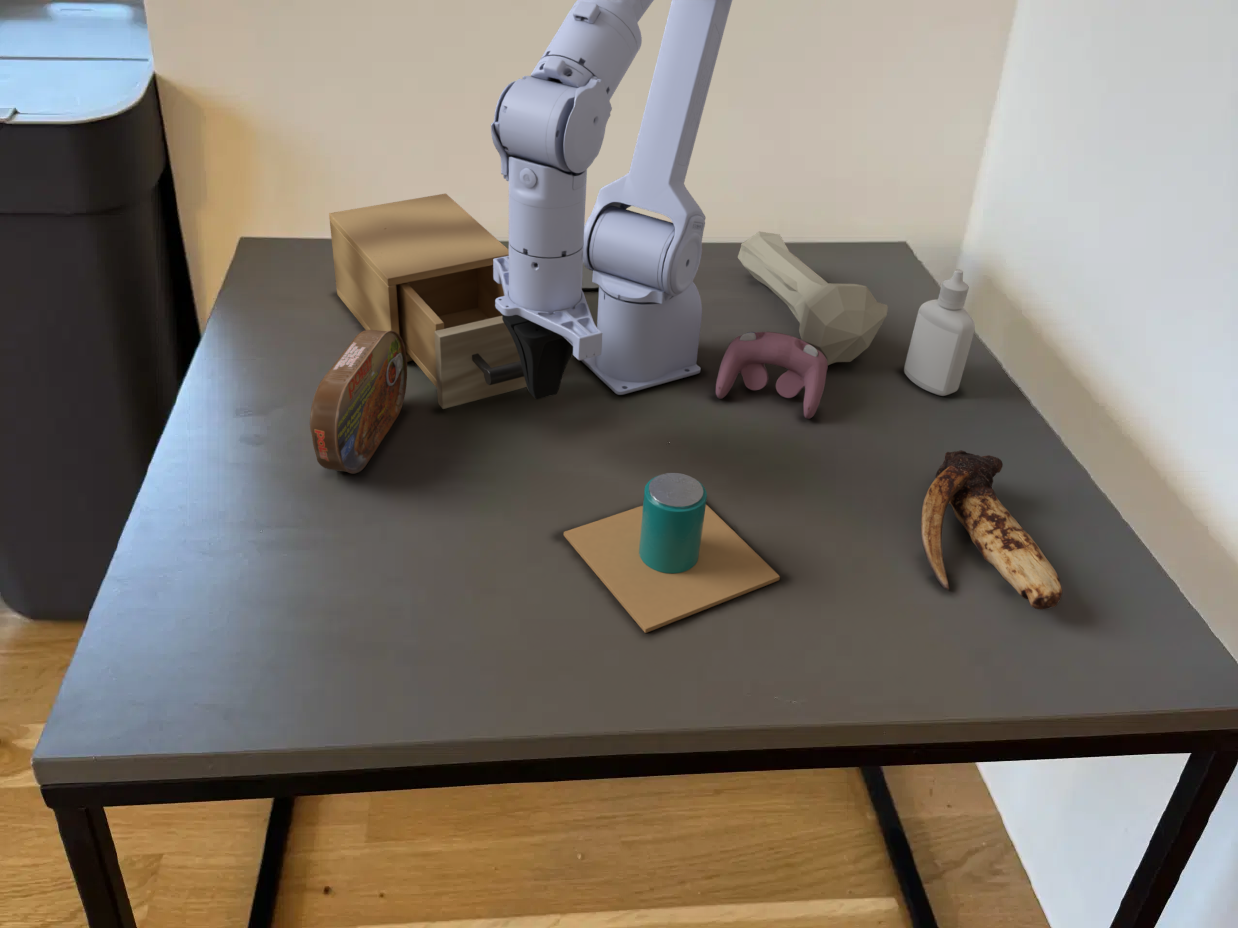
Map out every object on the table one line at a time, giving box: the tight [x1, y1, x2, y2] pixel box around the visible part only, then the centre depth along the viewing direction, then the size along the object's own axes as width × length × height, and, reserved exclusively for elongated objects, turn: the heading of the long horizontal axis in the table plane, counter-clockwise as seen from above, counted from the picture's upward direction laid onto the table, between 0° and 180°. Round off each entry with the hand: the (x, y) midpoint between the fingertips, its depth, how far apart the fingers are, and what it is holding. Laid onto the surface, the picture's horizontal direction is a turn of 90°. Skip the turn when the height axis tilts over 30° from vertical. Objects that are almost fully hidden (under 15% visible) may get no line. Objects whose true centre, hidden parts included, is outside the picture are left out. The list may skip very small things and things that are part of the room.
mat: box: [563, 504, 781, 634], centre depth 85 cm, size 12×12×1 cm
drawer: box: [396, 265, 527, 410], centre depth 101 cm, size 19×11×7 cm, turn 31°
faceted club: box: [737, 231, 889, 366], centre depth 115 cm, size 9×8×25 cm
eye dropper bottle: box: [903, 268, 976, 397], centre depth 104 cm, size 4×6×12 cm
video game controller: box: [715, 331, 829, 420], centre depth 103 cm, size 10×5×7 cm, turn 71°
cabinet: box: [328, 192, 509, 363], centre depth 110 cm, size 16×13×9 cm
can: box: [639, 472, 708, 574], centre depth 83 cm, size 5×5×6 cm
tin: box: [309, 329, 408, 474], centre depth 92 cm, size 15×3×8 cm, turn 168°
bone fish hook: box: [920, 449, 1063, 610], centre depth 86 cm, size 9×5×18 cm
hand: (542, 392), depth 92 cm, fingers closed
